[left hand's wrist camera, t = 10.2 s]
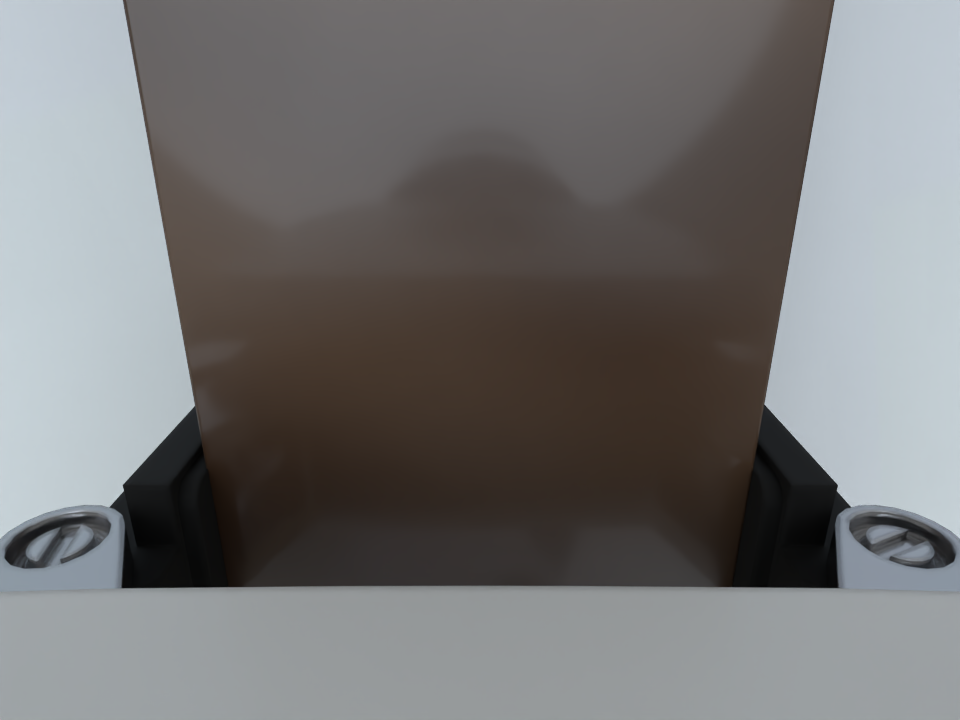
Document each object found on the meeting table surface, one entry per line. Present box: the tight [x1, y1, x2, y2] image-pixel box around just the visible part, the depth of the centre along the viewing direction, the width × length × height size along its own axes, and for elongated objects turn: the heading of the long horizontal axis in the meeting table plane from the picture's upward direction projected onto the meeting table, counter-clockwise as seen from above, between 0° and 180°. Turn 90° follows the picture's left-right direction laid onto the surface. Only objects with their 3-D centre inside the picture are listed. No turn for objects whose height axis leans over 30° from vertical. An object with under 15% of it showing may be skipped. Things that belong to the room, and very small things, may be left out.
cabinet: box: [123, 0, 834, 587], centre depth 11 cm, size 19×6×10 cm, turn 0°
